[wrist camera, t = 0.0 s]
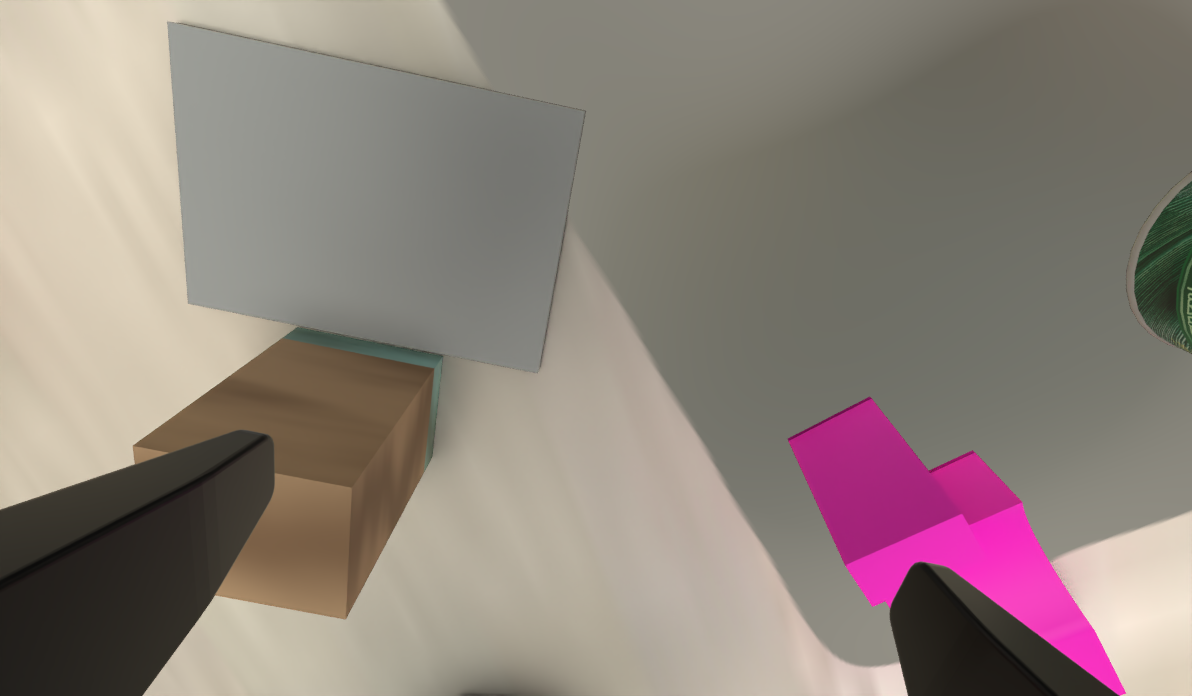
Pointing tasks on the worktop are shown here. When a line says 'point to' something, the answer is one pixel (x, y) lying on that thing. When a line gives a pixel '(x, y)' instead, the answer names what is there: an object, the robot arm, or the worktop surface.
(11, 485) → the worktop surface
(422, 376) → the walnut block
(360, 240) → the mat
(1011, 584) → the toy block
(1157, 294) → the canned tomato
